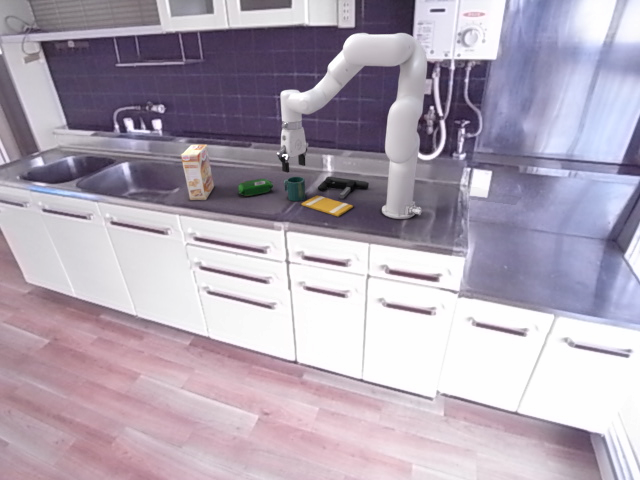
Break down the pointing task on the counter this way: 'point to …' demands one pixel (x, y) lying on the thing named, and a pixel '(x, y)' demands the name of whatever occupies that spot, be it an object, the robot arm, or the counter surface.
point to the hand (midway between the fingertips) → (294, 168)
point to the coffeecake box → (197, 172)
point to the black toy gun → (342, 185)
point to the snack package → (255, 187)
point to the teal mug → (295, 188)
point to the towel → (327, 205)
